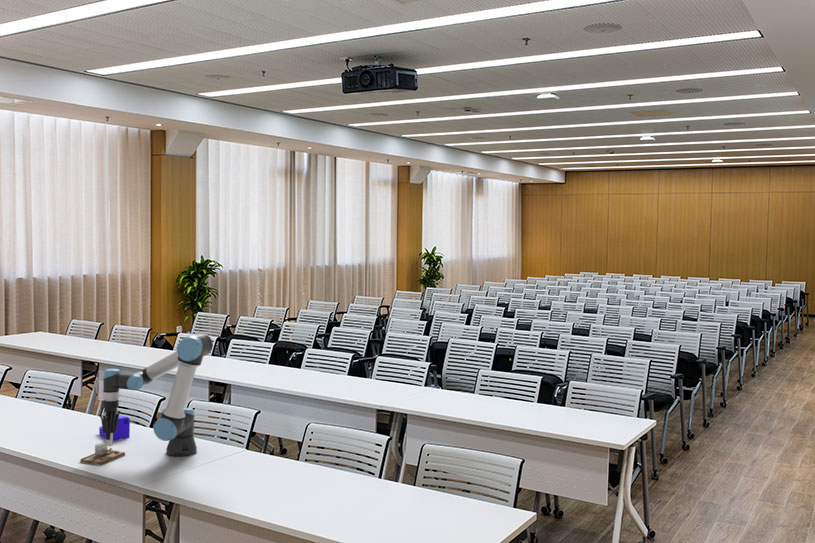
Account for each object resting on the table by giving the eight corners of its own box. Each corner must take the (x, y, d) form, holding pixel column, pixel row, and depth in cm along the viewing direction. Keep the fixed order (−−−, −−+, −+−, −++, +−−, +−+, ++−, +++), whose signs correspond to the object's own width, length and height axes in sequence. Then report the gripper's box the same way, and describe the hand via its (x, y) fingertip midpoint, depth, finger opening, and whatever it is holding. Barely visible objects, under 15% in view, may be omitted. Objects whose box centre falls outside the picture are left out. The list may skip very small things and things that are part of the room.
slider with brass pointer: (116, 454, 360) (116, 444, 359) (110, 456, 356) (111, 446, 356) (100, 452, 362) (100, 442, 362) (94, 454, 358) (95, 444, 358)
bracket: (129, 437, 399) (129, 416, 398) (111, 441, 389) (112, 420, 389) (109, 432, 408) (110, 411, 408) (92, 435, 399) (92, 414, 399)
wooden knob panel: (125, 455, 365) (125, 450, 365) (101, 465, 348) (101, 459, 348) (104, 452, 368) (104, 447, 368) (80, 462, 351) (80, 457, 351)
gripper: (112, 396, 372) (111, 441, 373) (95, 401, 360) (94, 448, 360) (125, 397, 370) (123, 443, 371) (108, 402, 358) (107, 449, 358)
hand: (109, 445), depth 366 cm, fingers closed
